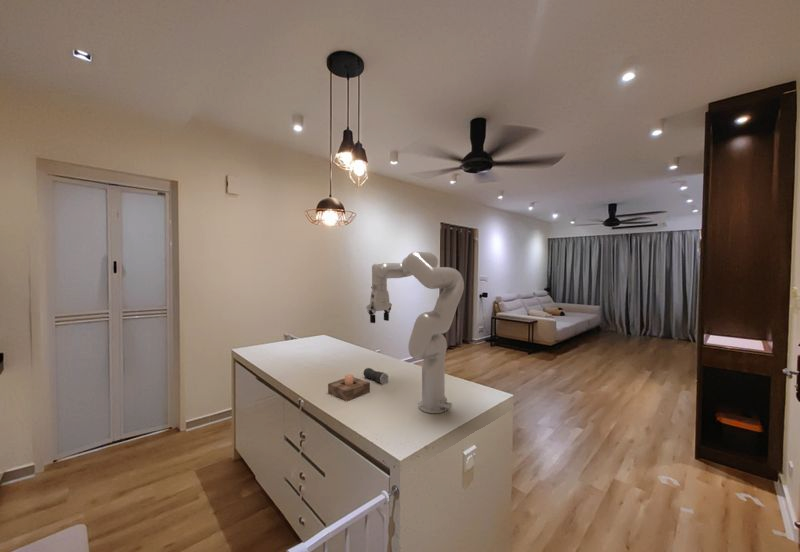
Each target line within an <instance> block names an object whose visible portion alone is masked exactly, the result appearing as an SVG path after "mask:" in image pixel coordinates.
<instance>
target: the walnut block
mask: <svg viewBox="0 0 800 552" xmlns="http://www.w3.org/2000/svg"><path fill="white" fill-rule="evenodd" d="M370 385H371V384H370V382H368V381H366V380H365V379H364V380H363V379H361V378H357V377H354V376H353V385H351V386H345V377H343V378H342V379H339V380H335V381H332V382H329V383H327V389H328V390H327V394H329V395H331V396H333V397H337V398H338V399H341V400H343V401H345V402H348V401H351V400H353V399H357V398H358V397H361V396H363V395H366V394H368V393H370V391H371V388H370V387H371V386H370Z"/></svg>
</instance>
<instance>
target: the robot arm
mask: <svg viewBox="0 0 800 552" xmlns="http://www.w3.org/2000/svg"><path fill="white" fill-rule="evenodd" d="M438 265H439V261H438V258H437V255H435V254H434V253H432V252H428V251H413V252H410V253H409V254H408V255H407V256H406V257H404V258H403V260H402V261H401V262H384V263H383V262H382V263H374V264H372V266H371V287H370V288H371V292H370V299H369V304H368V305H367V306H365V308H366V310H367V314H368V316H369V323H371V324H376V312H382V311H383V321H387V322H388V321H390V313H391V310H392V306H393V304H392V303H391V302H390V294H389V290H388V287H387V286H388V284H387V283H388V282H387V280H388V279H402V278H407V277H412V276H413V277H415V279H417V281H418V282H419V283H420V284H421V285H423V286H424V287H425V288H427V289H429V290H436V289H437V290H438V289H443V290H442V291H441V293H440V295H439V296H438V297H437V299H436V303H435V305H434V307H433V310H431V311H426V312H423V313H421V314H419V315H418V316H417V317H416V319H415V321H414V323H413V328H412V330H411V334H410V337H409V340H408V349H407V350H408V353H409V355H410V357H412V358H413V359H414V360H417V361H418V360H419V361H421V360H422V364H421V400H420V401H419V403H418V408H419V410H420V411H422V412H425V413H427V414H435V413H436V414H443V413H444V411H445V412H447V411H451V410H452V409H453V408H452V407H453V403H451V402H449V401H448V397H447V396H446V393H445V392H446V391H445V390H446V389H445V385H446V384H445V379H446V378H445V376H446V375H445V374H446V373H445V370H446V369H445V368H446V366H445V364H446V363H445V362H446V354H447V348H448V343H447V339H446V337H445V336H444V335H443V334H445V333H447V332H448V331H449V330H450V328H451V326H452V323H453V320H454V317H455V314H456V312H457V308H458V305H459V303H460V302H461V301H460V300H461V298H462V295H463V292H464V291H465V290H464V289H465V283H464V282H465V281H464V278H463V275H462V273H461V272H459V270H457V269H456V268H453V267H450V266H448V267H446V266H442V267H438ZM447 409H448V410H447ZM446 410H447V411H446Z"/></svg>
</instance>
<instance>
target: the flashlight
mask: <svg viewBox="0 0 800 552" xmlns="http://www.w3.org/2000/svg"><path fill="white" fill-rule="evenodd" d="M362 373H363V376H364V378H366V379H372V380H374V381H375V382H378V383H379V384H382V385H384V384H385V385H386V384H387V383H388V382H389V374H388V373H386V372H383V371H376V370H374V369H372V368H370V367H366V368H364V370H363V372H362Z"/></svg>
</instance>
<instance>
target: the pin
mask: <svg viewBox="0 0 800 552" xmlns="http://www.w3.org/2000/svg"><path fill="white" fill-rule="evenodd" d="M353 377H354V375H353V374H346V375H344V378H345V386H351V385H353Z"/></svg>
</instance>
